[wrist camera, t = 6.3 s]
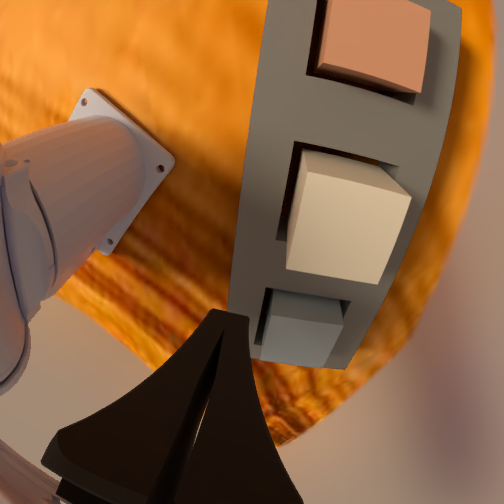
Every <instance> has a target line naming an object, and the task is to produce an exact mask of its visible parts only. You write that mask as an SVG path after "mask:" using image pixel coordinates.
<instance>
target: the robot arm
mask: <svg viewBox="0 0 504 504" xmlns="http://www.w3.org/2000/svg"><path fill="white" fill-rule="evenodd" d="M85 99H87V104H85ZM159 165H163V167H164V171H161V170H160V169H159ZM174 165H175V158H174V157H173V155H172V154H170V153H169V152H168V151H167V150H166V149H165V148H164V147H162V146H161V145H160V144H159V143H158V142H157V141H156V140H154V139H153V138H152V137H151V136H150V135H149V134H147V133H146V132H145V131H144V130H143V129H142V128H140V127H139V126H138V125H137V124H136V123H135V122H133V121H132V120H131V119H130V118H129V117H128V116H126V115H125V114H124V113H123V112H122V111H121V110H119V109H118V108H117V107H116V106H115V105H114V104H112V103H111V102H110V101H109V100H108V99H106V98H105V97H104V96H103V95H102V94H100V93H99V92H98V91H97V90H96V89H94V88H87V89H86V90H85V91H84V92H83V94H82V96H81V98H80V99H79V101H78V103H77V105H76V107H75V109H74V111H73V112H72V114H71V116H70V118H69V120H68V122H64V123H61V124H58V125H54V126H51V127H48V128H45V129H42V130H38V131H35V132H33V133H30V134H27V135H24V136H21V137H19V138H16V139H13V140H11V141H8V142H6V143H3V144H1V143H0V396H2V395H3V394H5V393H6V392H8V391H9V390H10V389H11V388H12V387H13V386H14V385H15V384H16V383H17V382H18V380H19V379H20V377H21V376H22V374H23V372H24V370H25V368H26V366H27V363H28V360H29V355H30V349H31V337H30V330H29V327H28V323H29V321H31V319H32V318H33V317H34V316H35V314H36V313H37V312H38V311H39V310H40V308H41V306H40V301H43V300H46V299H48V298H49V297H51V296H53V295H54V294H55V293H56V292H57V291H58V290H59V289H60V288H61V287H62V286H63V285H64V283H65V282H66V281H67V280H68V279H69V278H70V277H71V276H72V275H73V274H74V273H75V271H76V270H77V269H78V268H79V267H80V266H81V265H82V264H83V263H84V262H85V261H86V260H87V259H88V258H89V257H90V256H91V255H92V254H93V253H94V252H95V251H96V250H97V249H98V250H99V251H100V252H101V253H103V254H104V255H107V256H108V255H110V254H111V253H112V251H113V250H114V248H115V247H116V245H117V244H118V242H119V241H120V239H121V238H122V236H123V235H124V233H125V232H126V230H127V229H128V227H129V226H130V224H131V223H132V222H133V220H134V219H135V217H136V216H137V214H138V213H139V212H140V210H141V209H142V207H143V206H144V205H145V203H146V202H147V201H148V199H149V198H150V197H151V195H152V194H153V193H154V191H155V190H156V189H157V187H158V186H159V185H160V183H161V182H162V181H163V179H164V178H165V177H166V176H167V174H168V173H169V172H170V171H171V169H172V168H173V167H174ZM110 239H111V240H112V241H113V242H111V240H110ZM249 322H250V318H249V317H248V316H245V315H240V314H236V313H231V312H227V311H222V310H218V309H211V310H210V311H209V313H208V314H207V316H206V317H205V318H204V320H203V321H202V322H201V324H200V325H199V326H198V328H197V329H196V330H195V331H194V332H193V334H192V335H191V336H190V337H189V338H188V339H187V340H186V341H185V343H184V344H183V345H182V346H181V347H180V348H179V349H178V350H177V351H176V352H175V353H174V354H173V355H172V356H171V357H170V358H169V359H168V360H167V361H166V362H165V363H164V364H163V365H162V366H161V367H160V368H159V369H157V370H156V371H155V372H154V373H153V374H152V375H151V376H149V377H148V378H147V379H146V380H144V381H143V382H142V383H141V384H139V385H138V386H137V387H135V388H134V389H132V390H131V391H130V392H128V393H127V394H126V395H124V396H123V397H121V398H120V399H118V400H117V401H115V402H113V403H112V404H110V405H108V406H106V407H105V408H103V409H101V410H99V411H98V412H96V413H94V414H92V415H91V416H89V417H87V418H85V419H83V420H80V421H78V422H76V423H74V424H71V425H69V426H67V427H64V428H62V429H60V430H58V432H57V433H56V435H55V436H54V438H53V439H52V440H51V442H50V443H49V445H48V447H47V449H46V451H45V453H44V455H43V457H42V459H41V464H42V465H43V466H45V467H46V468H48V469H49V470H51V471H52V472H54V473H56V474H58V475H59V476H60V477H62V480H61V482H59V481H57V480H55V479H54V478H52V477H51V476H49V475H47V474H46V473H45V472H43V471H41V470H40V469H39V468H37V467H36V466H34V465H33V464H31V463H30V462H29V461H27V460H26V459H25V458H23V457H22V456H21V455H19V454H18V453H17V452H16V451H14V450H13V449H12V448H11V447H9V446H8V445H7V444H6V443H4V442H3V441H2V440H1V439H0V504H61V503H60V500H61V501H63V502H65V503H66V504H304V503H303V500H302V498H301V496H300V495H299V493H298V491H297V490H296V488H295V486H294V484H293V483H292V481H291V479H290V477H289V475H288V473H287V471H286V469H285V467H284V465H283V463H282V461H281V459H280V457H279V455H278V452H277V450H276V447H275V445H274V442H273V440H272V438H271V435H270V433H269V430H268V427H267V424H266V421H265V419H264V415H263V412H262V409H261V406H260V402H259V398H258V394H257V390H256V386H255V381H254V376H253V371H252V364H251V357H250V348H249ZM207 403H208V404H207ZM206 406H207V407H206ZM205 408H206V411H205ZM204 411H205V414H204ZM203 414H204V417H203V420H202V423H201V426H200V429H199V432H198V435H197V438H196V441H195V437H196V434H197V430H198V427H199V424H200V421H201V419H202V416H203ZM194 441H195V443H194ZM193 445H194V446H193ZM59 499H60V500H59Z"/></svg>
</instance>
